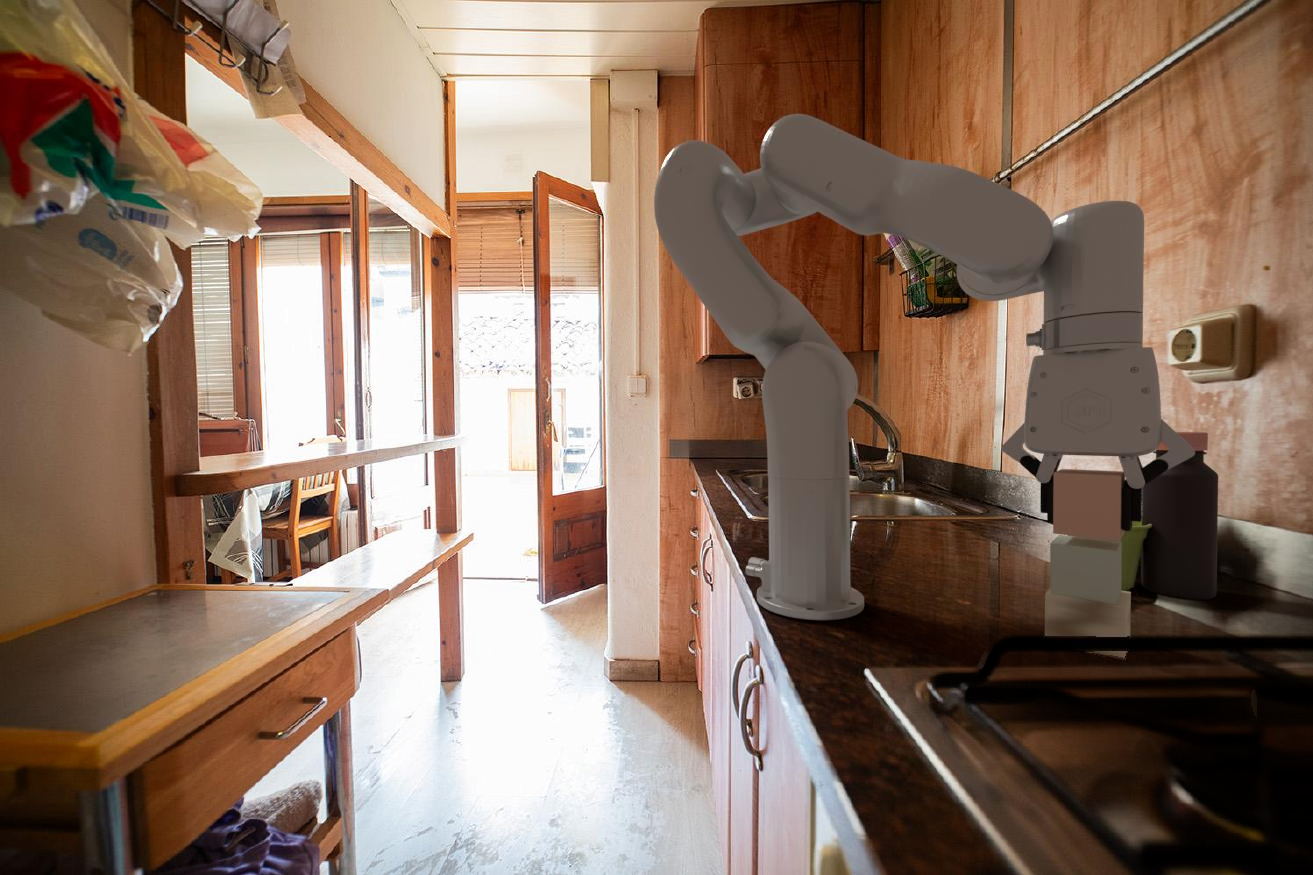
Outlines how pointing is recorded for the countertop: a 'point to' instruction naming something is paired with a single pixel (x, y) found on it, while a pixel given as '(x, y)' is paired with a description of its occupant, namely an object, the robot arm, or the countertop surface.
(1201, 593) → the bottle
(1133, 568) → the plant pot
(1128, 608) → the tower base
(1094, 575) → the tower top
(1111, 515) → the block
